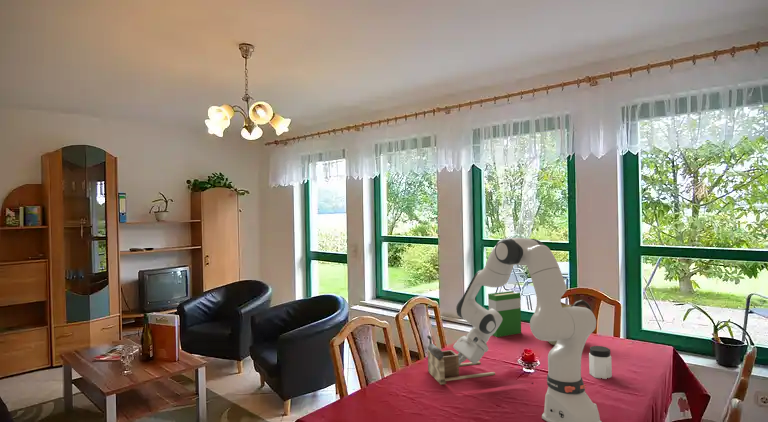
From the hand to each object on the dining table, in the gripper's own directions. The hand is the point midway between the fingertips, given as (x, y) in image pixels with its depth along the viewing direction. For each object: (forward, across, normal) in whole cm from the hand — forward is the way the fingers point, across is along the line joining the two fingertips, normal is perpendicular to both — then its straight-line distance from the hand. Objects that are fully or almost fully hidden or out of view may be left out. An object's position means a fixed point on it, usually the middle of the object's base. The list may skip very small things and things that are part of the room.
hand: (456, 363), depth 203 cm
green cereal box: (-33, -52, +42) cm, 74 cm away
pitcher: (-48, -26, +56) cm, 78 cm away
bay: (+2, 0, +5) cm, 6 cm away
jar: (-38, +20, +46) cm, 64 cm away
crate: (+6, 0, 0) cm, 6 cm away
